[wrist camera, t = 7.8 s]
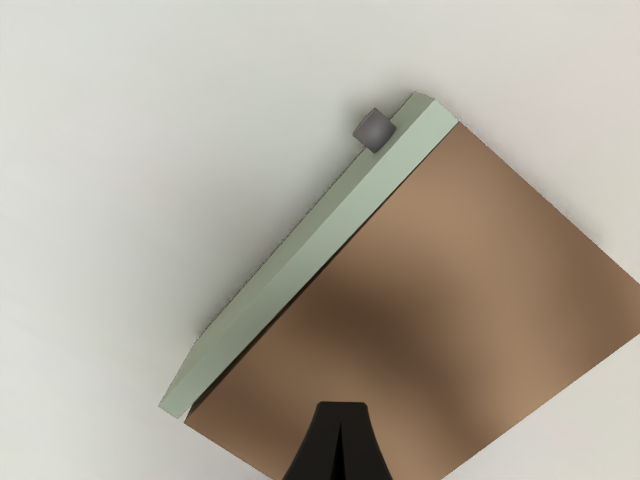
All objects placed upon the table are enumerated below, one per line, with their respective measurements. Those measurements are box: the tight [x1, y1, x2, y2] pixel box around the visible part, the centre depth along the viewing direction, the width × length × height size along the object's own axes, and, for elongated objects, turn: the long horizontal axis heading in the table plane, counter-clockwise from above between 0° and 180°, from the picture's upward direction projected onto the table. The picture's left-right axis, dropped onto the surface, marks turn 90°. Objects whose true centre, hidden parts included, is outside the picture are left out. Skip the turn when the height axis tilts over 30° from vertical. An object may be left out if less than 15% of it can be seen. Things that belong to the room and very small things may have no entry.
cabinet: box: [184, 121, 640, 480], centre depth 19 cm, size 16×10×5 cm, turn 141°
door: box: [158, 91, 459, 419], centre depth 18 cm, size 16×2×5 cm, turn 140°
